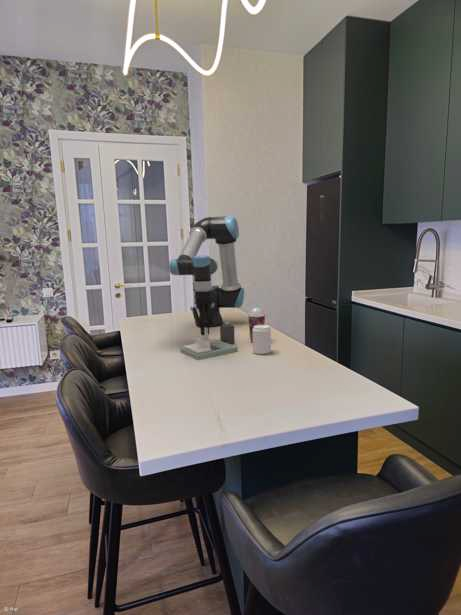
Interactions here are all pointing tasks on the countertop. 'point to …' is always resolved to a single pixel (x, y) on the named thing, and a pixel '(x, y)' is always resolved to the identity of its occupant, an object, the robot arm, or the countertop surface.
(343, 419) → the countertop surface
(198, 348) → the panel
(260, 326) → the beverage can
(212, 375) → the countertop surface
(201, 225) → the robot arm
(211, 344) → the socket plate
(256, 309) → the smoothie
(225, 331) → the plug
